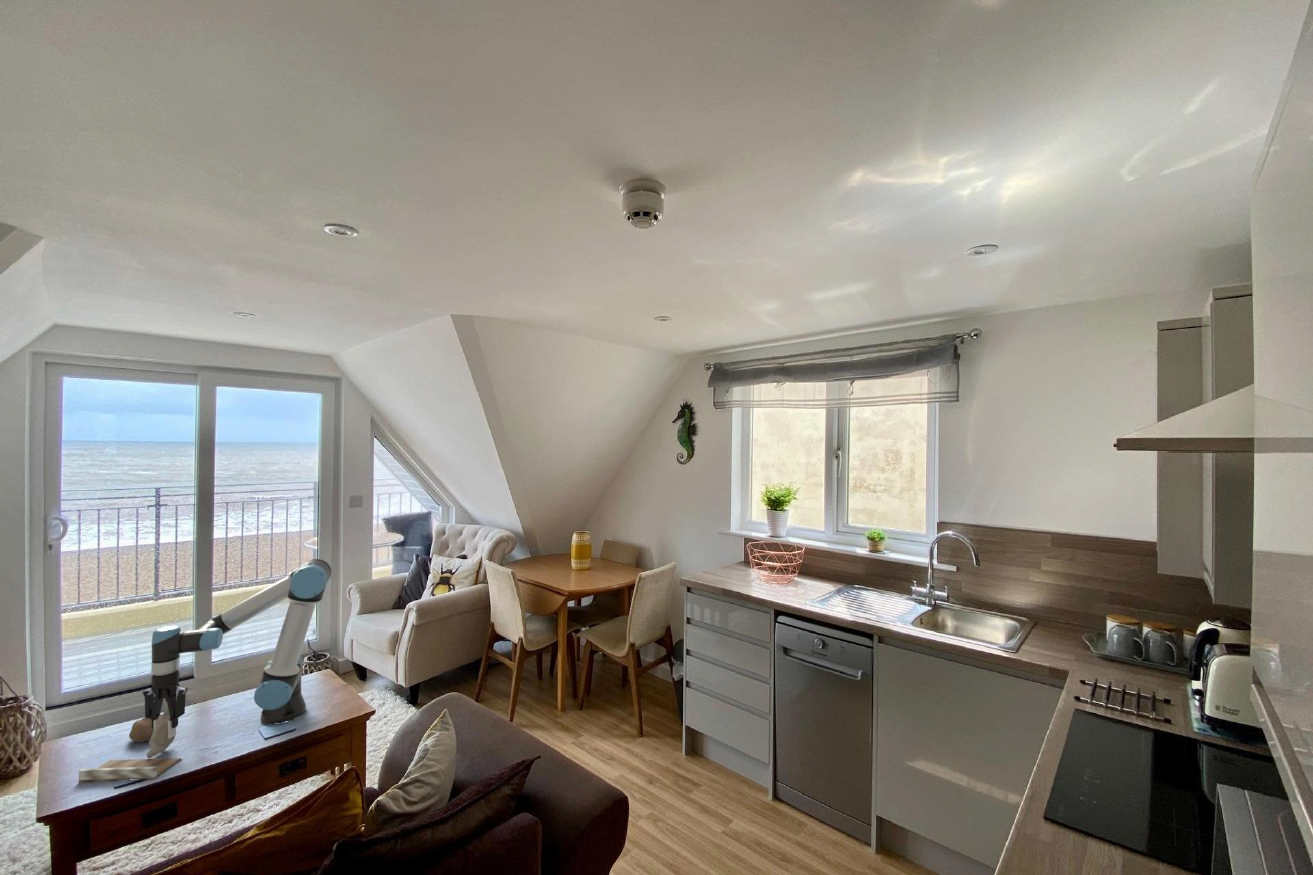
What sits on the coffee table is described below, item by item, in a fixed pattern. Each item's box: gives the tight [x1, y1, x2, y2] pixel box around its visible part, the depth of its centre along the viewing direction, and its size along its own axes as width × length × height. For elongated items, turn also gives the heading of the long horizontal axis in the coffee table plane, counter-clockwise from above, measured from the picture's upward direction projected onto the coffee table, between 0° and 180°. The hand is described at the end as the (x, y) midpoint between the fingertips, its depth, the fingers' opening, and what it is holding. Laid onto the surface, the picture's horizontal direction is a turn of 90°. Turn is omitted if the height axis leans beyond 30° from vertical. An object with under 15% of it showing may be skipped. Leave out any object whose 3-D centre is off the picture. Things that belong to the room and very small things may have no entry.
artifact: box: [146, 708, 176, 759], centre depth 194 cm, size 9×3×15 cm, turn 175°
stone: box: [128, 713, 163, 743], centre depth 204 cm, size 12×9×10 cm
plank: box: [78, 757, 182, 784], centre depth 182 cm, size 23×11×4 cm, turn 94°
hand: (164, 736), depth 194 cm, fingers open, 4 cm apart
